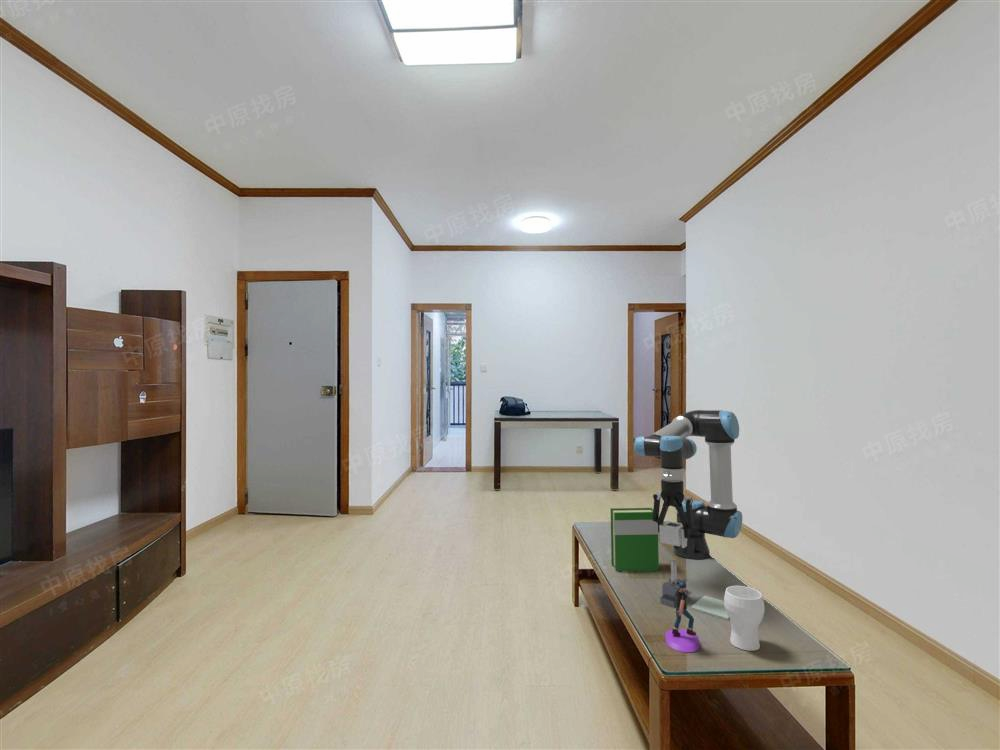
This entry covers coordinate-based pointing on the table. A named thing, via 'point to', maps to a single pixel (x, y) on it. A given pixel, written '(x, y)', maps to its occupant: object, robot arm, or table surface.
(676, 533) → the grey hollow block
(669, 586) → the vise
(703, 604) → the mat
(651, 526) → the hardback book
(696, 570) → the table surface
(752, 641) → the cup
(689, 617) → the figurine
